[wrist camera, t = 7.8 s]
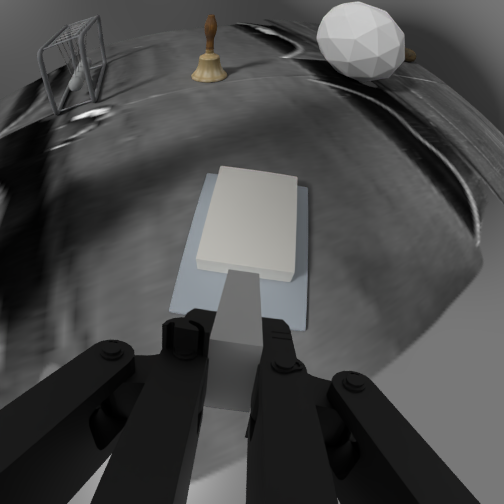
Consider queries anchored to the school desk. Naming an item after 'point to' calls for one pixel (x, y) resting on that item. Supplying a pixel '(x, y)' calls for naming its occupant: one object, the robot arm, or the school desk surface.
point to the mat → (212, 283)
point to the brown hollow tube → (409, 55)
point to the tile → (251, 224)
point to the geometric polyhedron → (361, 41)
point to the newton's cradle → (75, 64)
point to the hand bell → (209, 57)
